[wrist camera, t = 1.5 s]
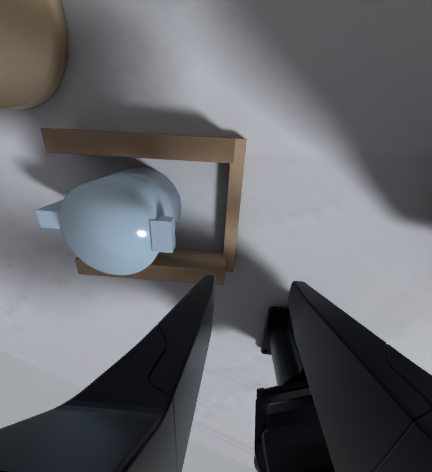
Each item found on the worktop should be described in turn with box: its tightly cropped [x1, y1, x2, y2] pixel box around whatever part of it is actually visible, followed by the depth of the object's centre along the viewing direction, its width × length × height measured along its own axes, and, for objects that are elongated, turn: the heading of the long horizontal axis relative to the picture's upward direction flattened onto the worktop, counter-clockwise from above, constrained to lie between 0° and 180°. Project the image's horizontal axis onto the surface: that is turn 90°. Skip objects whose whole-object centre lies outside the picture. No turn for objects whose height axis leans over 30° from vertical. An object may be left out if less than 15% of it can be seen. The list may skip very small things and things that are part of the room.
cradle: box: [41, 128, 247, 285], centre depth 17 cm, size 11×13×3 cm
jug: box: [35, 167, 181, 275], centre depth 15 cm, size 6×9×6 cm, turn 87°
